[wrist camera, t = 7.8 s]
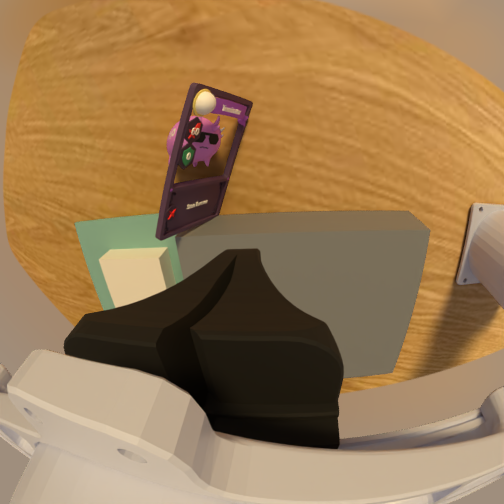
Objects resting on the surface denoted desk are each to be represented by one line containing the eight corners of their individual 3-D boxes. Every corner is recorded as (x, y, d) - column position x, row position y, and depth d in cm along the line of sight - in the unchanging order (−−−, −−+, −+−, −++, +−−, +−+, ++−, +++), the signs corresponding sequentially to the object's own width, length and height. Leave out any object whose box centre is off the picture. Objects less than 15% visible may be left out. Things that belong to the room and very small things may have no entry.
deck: (408, 210, 20) (430, 229, 16) (382, 344, 26) (392, 372, 22) (192, 216, 22) (174, 236, 18) (217, 348, 28) (209, 378, 24)
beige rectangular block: (98, 259, 22) (109, 249, 24) (128, 339, 26) (136, 327, 27) (158, 258, 21) (167, 247, 23) (182, 344, 25) (188, 330, 27)
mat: (179, 211, 22) (177, 212, 21) (208, 351, 28) (208, 353, 28) (76, 222, 23) (74, 223, 23) (120, 343, 30) (119, 344, 29)
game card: (168, 247, 16) (209, 85, 12) (111, 213, 17) (138, 75, 13) (226, 221, 21) (262, 104, 17) (174, 196, 23) (202, 90, 19)
